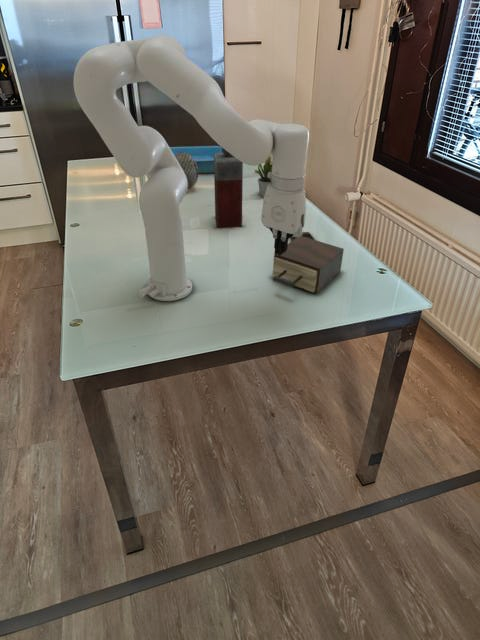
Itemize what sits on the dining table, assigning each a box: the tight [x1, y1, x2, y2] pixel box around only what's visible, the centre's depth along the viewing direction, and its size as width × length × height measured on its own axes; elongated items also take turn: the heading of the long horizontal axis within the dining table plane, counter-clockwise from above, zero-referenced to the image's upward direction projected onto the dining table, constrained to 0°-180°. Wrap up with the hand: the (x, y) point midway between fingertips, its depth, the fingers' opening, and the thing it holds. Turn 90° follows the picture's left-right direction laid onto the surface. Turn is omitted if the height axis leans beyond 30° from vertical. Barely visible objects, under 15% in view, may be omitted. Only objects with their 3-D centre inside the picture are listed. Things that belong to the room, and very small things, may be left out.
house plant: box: [253, 155, 273, 198], centre depth 183 cm, size 14×14×16 cm
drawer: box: [272, 257, 318, 293], centre depth 131 cm, size 19×13×6 cm
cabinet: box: [273, 236, 345, 295], centre depth 134 cm, size 14×14×8 cm
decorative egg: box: [175, 152, 199, 190], centre depth 189 cm, size 12×12×15 cm
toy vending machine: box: [213, 147, 244, 229], centre depth 159 cm, size 9×11×28 cm
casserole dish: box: [169, 145, 223, 174], centre depth 214 cm, size 37×22×7 cm, turn 97°
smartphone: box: [290, 231, 316, 241], centre depth 152 cm, size 7×1×15 cm
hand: (280, 252), depth 118 cm, fingers closed
